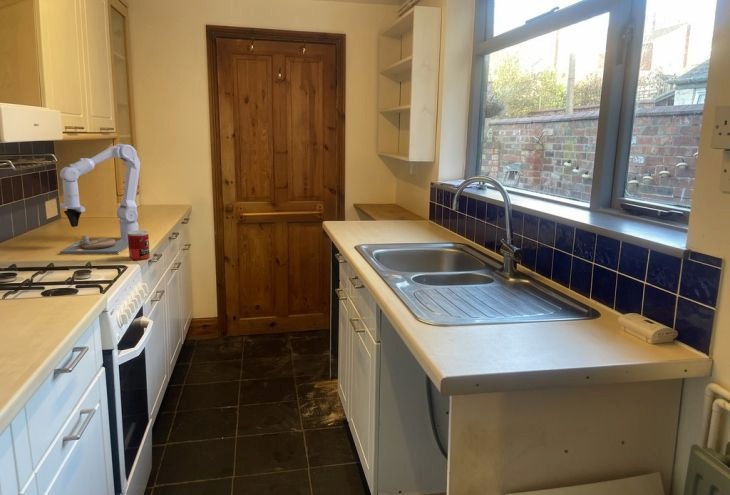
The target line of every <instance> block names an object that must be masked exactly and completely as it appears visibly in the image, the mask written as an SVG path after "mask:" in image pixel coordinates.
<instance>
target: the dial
mask: <svg viewBox="0 0 730 495" xmlns="http://www.w3.org/2000/svg"><path fill="white" fill-rule="evenodd" d="M80 241H81V242H79V247H80V248H83V249H102V248H108V247H111V246H114V245H115V241H116V240H115V239H114V238H109V237H100V238H98V237H97V238H90V236H89V235H82V240H80Z"/></svg>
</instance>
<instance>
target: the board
mask: <svg viewBox="0 0 730 495" xmlns="http://www.w3.org/2000/svg"><path fill="white" fill-rule="evenodd" d="M81 241H82V240H77V241H76V242H74V243H72V244H70V245H69V246H67V247H66V248H64V249H61V250H60V255H61V254H118V253H119V252H121V251H122V250H124V249H125V248H126V249H128V248H129V247H128V246H129V245H128V241H118V240H115V245H114V246H111V247H108V248H102V249H83V248H80V247H79V242H81ZM127 247H128V248H127ZM126 249H125V250H126ZM125 250H124V251H125ZM122 252H123V251H122ZM122 252H121V253H122ZM118 255H119V254H118Z"/></svg>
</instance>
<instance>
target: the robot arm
mask: <svg viewBox="0 0 730 495" xmlns="http://www.w3.org/2000/svg"><path fill="white" fill-rule="evenodd" d="M112 158H115V159H116V158H118V159H120V160H121V161H123V162H124V164H125V165H126V166H127V169H126V174H125V175H126V176H125V181H124V182H125V183H124V188H123V198H122V200H121V201H120V203H119V207H118V208H117V211H116V216H117V217H118V219H119V231H120V234H119V235H120V239H118V240H117V241H128V232H130V231H137V230H140V229H139V228H140V226H139V222H138V221H137V219H138V217H139V212H138V210H137V209H138V206H137V203H136V198H137V191H138V185H139V183H138V182H139V179H140V177H139V176H140V171H141V161H140V159H139V156H138V151H137V149H135V148H134V146H132V145H130V144H123V143H116V145H112V146H110V147H108V148H106V149H105V150H103V151H100V152H99V153H98V154H96V155H94V156H92V157H91V158H89V157H81V158H79V160H78V161H76V162H74V163H70V164H69V166H65V167H63V168H61V170H60V173H59V177H60V178H61V179H62V180H61V181H62V191H63V200H64V203H60V204H59V206H60V209H61V210H62V209H65V210H64V214H65V216H66V217H67V219H68V221H69V223H70V226H71V227H72V228H76V227H78V226H79V222H80V220H79V219H80V217H81V215H82V213H83V212H84V213H85V212H86V208H85V206H83V205H81V203H80V194H79V193H80V192H79V184H78V180H79V177H82V176H83V175H86V174H87V173H89V172H92V171H93V170H94V169H95V166H96V165H99V164H101V163H103V162H104V161H107V160H109V159H112Z"/></svg>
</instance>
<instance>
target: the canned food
mask: <svg viewBox="0 0 730 495" xmlns="http://www.w3.org/2000/svg"><path fill="white" fill-rule="evenodd" d="M149 240H150V239H149V231H146V230H140V229H139V230H137V231H130V232H128V245H129V247H128V254H129V258H131V259H132V261H138V262H139V261H146V260H149V259H150V257H151V256H150V255H151V254H150V241H149ZM131 259H130V260H131Z"/></svg>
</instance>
